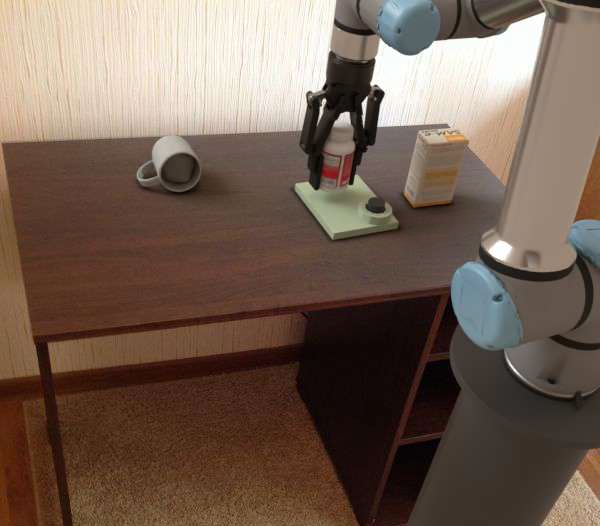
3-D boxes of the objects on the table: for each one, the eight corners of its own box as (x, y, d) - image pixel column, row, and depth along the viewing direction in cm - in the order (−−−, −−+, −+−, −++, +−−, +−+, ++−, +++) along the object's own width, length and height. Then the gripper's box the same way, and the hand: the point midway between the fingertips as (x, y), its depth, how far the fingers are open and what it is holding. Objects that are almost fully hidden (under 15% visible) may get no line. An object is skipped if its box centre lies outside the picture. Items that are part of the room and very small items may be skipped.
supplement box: (440, 190, 145) (458, 126, 135) (451, 204, 142) (471, 139, 132) (401, 194, 142) (417, 129, 133) (412, 208, 139) (430, 143, 130)
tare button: (386, 212, 132) (388, 205, 131) (371, 215, 131) (373, 207, 130) (378, 203, 134) (380, 196, 133) (363, 206, 133) (365, 198, 132)
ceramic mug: (189, 166, 140) (188, 127, 134) (202, 190, 135) (202, 150, 129) (132, 172, 136) (129, 133, 131) (143, 197, 132) (141, 157, 126)
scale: (397, 228, 134) (400, 214, 132) (332, 240, 129) (335, 225, 127) (356, 181, 143) (358, 166, 141) (294, 190, 139) (296, 175, 136)
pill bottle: (341, 175, 138) (351, 117, 130) (352, 193, 134) (363, 135, 126) (309, 176, 136) (317, 118, 128) (319, 195, 132) (328, 136, 124)
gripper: (393, 39, 123) (367, 166, 140) (287, 47, 117) (273, 179, 133) (416, 59, 119) (387, 187, 136) (307, 68, 112) (290, 202, 129)
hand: (331, 183), depth 135 cm, fingers closed on pill bottle, 6 cm apart
